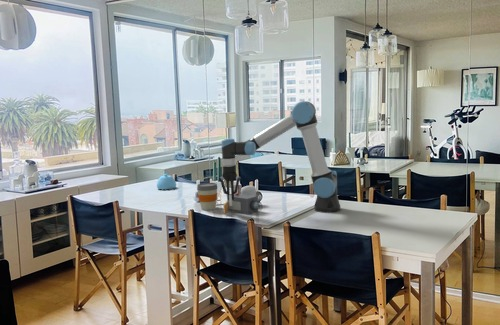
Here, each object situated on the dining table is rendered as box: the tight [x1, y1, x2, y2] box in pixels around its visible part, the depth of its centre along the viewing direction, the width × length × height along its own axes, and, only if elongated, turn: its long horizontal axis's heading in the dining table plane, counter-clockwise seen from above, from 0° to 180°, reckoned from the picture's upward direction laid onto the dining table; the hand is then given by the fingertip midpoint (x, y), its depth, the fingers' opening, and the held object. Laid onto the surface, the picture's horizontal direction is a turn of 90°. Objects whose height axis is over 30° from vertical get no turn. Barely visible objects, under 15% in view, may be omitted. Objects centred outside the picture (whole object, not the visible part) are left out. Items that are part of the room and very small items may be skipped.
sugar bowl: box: [156, 173, 177, 190], centre depth 368 cm, size 15×15×12 cm
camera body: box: [227, 192, 260, 215], centre depth 280 cm, size 18×9×10 cm, turn 51°
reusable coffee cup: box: [196, 182, 218, 211], centre depth 292 cm, size 13×12×15 cm
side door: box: [223, 199, 229, 215], centre depth 276 cm, size 11×1×6 cm, turn 171°
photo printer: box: [240, 185, 257, 196], centre depth 296 cm, size 10×4×12 cm, turn 123°
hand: (231, 205), depth 275 cm, fingers closed
